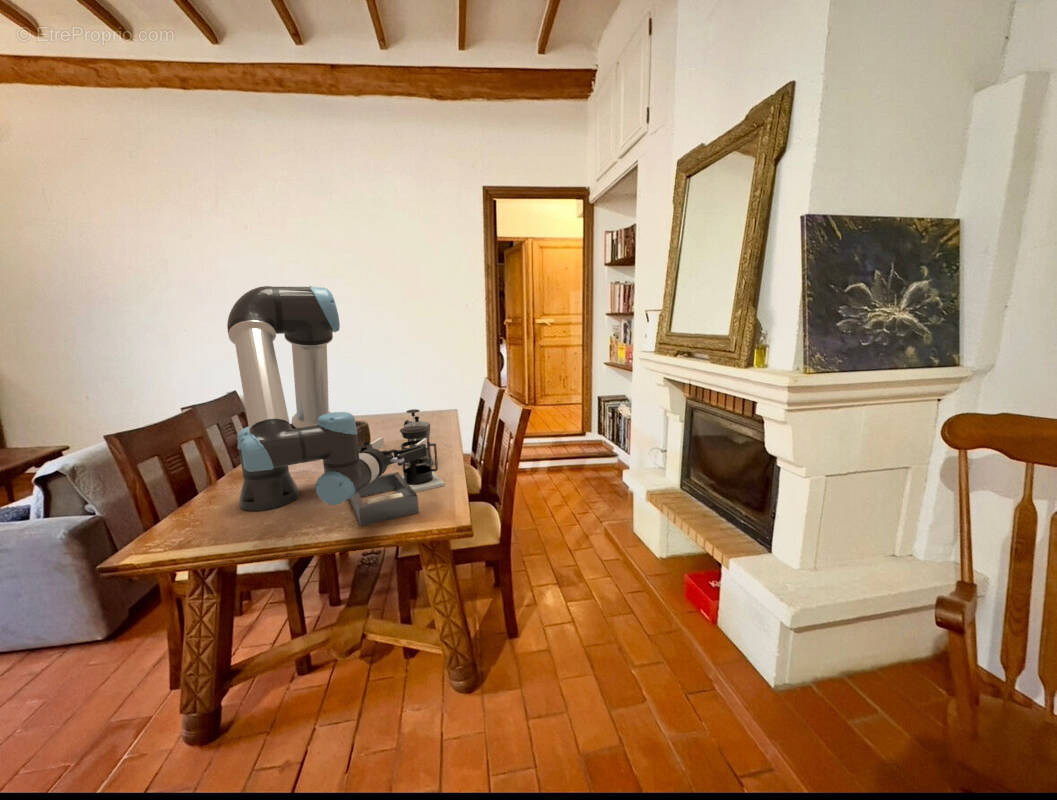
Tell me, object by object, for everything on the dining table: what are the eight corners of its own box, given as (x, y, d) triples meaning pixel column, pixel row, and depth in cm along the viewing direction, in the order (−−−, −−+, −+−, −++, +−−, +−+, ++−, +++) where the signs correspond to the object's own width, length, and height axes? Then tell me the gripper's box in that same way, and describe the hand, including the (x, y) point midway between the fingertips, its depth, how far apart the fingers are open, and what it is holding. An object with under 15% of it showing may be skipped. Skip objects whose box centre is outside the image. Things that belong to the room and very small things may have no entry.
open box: (360, 526, 113) (358, 508, 112) (348, 497, 132) (347, 481, 131) (418, 512, 120) (417, 495, 119) (399, 487, 139) (398, 472, 138)
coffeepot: (441, 465, 158) (438, 416, 155) (418, 472, 152) (414, 421, 149) (418, 456, 169) (415, 411, 166) (396, 462, 163) (392, 415, 159)
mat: (409, 493, 133) (409, 490, 133) (398, 479, 145) (398, 476, 145) (444, 485, 139) (444, 482, 139) (431, 472, 151) (431, 470, 151)
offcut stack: (368, 522, 115) (366, 505, 114) (365, 516, 119) (363, 499, 118) (410, 512, 120) (408, 496, 119) (406, 506, 124) (404, 490, 123)
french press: (397, 485, 137) (391, 413, 133) (405, 474, 147) (400, 407, 142) (434, 484, 137) (429, 412, 133) (441, 474, 146) (436, 406, 142)
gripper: (322, 479, 112) (366, 453, 132) (415, 483, 108) (445, 455, 128) (319, 450, 110) (363, 429, 131) (412, 453, 106) (443, 430, 127)
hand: (404, 442), depth 130 cm, fingers open, 13 cm apart
